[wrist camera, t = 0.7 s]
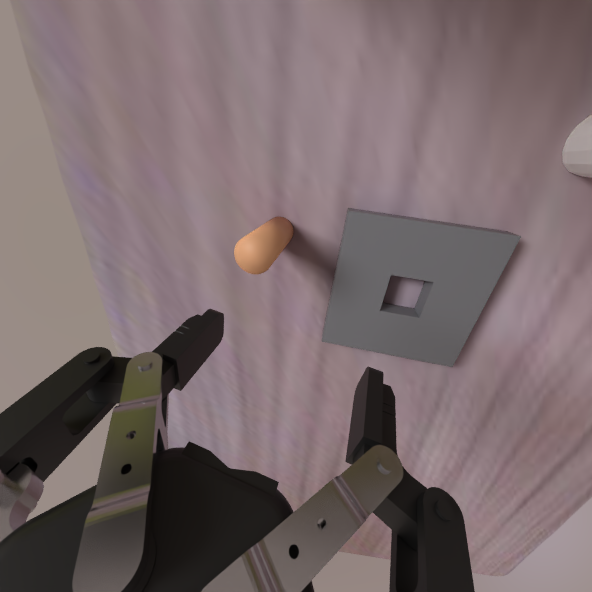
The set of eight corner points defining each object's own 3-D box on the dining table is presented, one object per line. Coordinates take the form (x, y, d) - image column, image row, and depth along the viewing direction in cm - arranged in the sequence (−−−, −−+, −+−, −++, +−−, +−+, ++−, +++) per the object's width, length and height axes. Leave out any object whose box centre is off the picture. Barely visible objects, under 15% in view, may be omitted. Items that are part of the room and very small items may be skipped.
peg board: (348, 207, 30) (348, 210, 28) (507, 231, 28) (521, 236, 26) (322, 331, 38) (321, 341, 36) (445, 355, 37) (452, 367, 34)
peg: (267, 214, 32) (234, 232, 22) (295, 219, 32) (274, 239, 22) (265, 242, 34) (234, 270, 24) (291, 246, 33) (271, 277, 24)
